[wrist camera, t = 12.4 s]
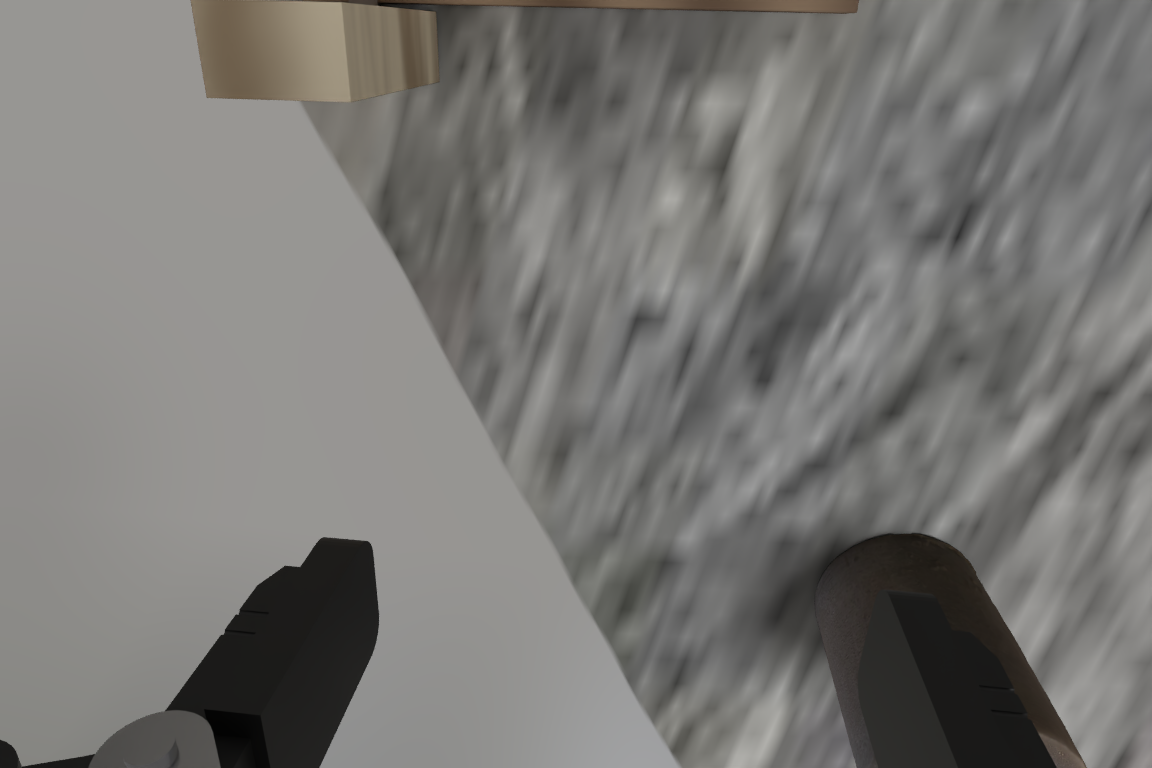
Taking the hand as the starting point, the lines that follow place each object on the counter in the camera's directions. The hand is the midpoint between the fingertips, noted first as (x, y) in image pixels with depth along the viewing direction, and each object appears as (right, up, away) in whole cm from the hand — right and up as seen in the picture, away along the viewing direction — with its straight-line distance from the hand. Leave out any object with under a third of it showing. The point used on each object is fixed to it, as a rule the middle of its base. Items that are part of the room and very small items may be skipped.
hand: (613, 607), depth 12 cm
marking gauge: (-9, +24, +22) cm, 34 cm away
